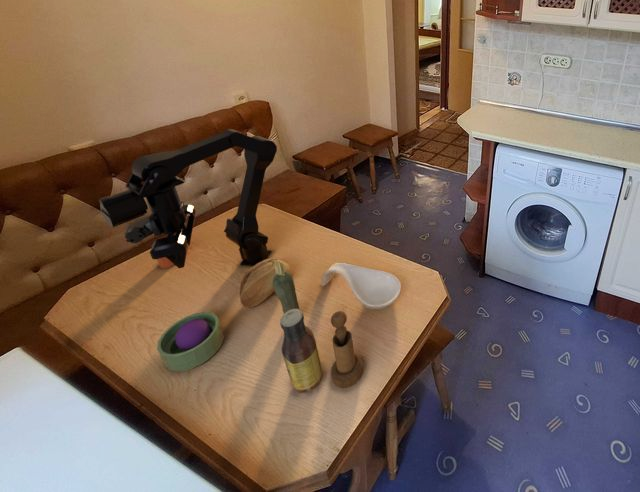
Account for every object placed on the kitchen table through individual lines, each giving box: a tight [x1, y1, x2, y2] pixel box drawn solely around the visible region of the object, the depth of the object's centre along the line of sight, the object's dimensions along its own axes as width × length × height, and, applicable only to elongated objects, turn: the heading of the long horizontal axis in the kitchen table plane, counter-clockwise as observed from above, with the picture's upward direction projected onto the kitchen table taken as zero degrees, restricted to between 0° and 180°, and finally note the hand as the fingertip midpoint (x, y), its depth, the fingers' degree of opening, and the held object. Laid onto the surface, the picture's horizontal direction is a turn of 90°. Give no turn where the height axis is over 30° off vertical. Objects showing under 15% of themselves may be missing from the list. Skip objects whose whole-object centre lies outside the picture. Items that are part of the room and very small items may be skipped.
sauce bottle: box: [279, 308, 324, 394], centre depth 73 cm, size 7×6×20 cm
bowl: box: [156, 311, 225, 373], centre depth 81 cm, size 11×11×6 cm
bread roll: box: [238, 258, 292, 309], centre depth 97 cm, size 10×15×8 cm, turn 164°
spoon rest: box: [320, 262, 402, 310], centre depth 97 cm, size 24×12×7 cm, turn 71°
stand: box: [156, 257, 175, 269], centre depth 106 cm, size 5×5×7 cm
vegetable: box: [271, 260, 300, 315], centre depth 86 cm, size 4×4×20 cm
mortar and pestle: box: [330, 310, 364, 389], centre depth 75 cm, size 7×6×18 cm
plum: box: [175, 319, 210, 351], centre depth 82 cm, size 6×6×6 cm
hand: (184, 256), depth 92 cm, fingers open, 9 cm apart
